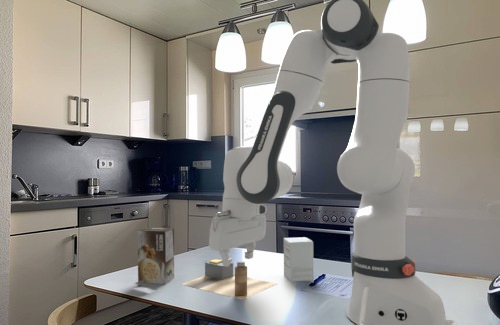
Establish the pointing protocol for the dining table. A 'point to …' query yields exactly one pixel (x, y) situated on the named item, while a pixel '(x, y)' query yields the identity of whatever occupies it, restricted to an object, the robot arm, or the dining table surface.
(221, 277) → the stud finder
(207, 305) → the dining table surface
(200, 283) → the plywood board
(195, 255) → the dining table surface
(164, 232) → the brown food box
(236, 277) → the marker peg
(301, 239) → the supplement box
